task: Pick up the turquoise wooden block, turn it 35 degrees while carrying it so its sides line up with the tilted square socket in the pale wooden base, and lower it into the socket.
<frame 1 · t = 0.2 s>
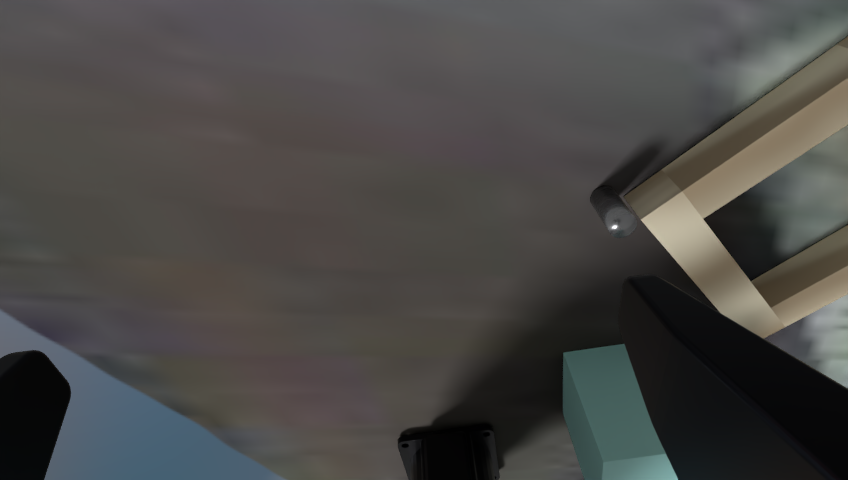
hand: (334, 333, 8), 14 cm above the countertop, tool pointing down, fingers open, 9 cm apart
turquoise block: (610, 376, 31), on the countertop
socket base: (793, 194, 24), on the countertop
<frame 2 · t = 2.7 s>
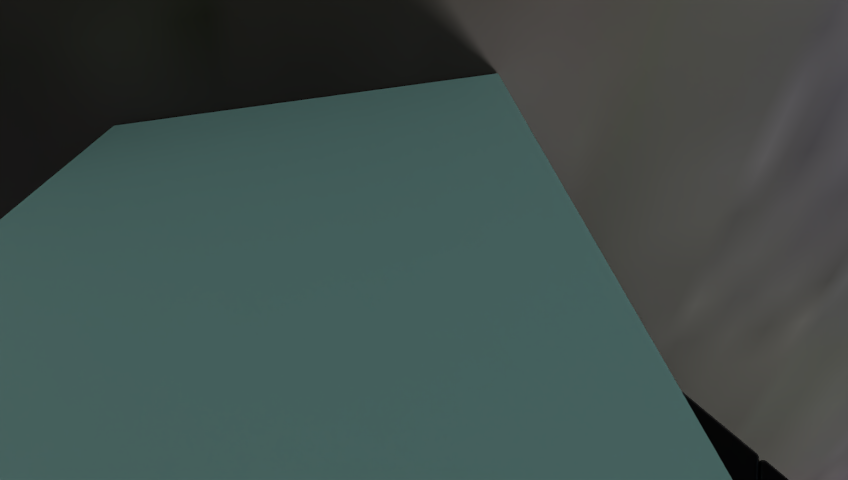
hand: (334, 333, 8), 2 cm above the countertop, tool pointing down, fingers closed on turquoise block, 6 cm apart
turquoise block: (344, 254, 9), on the countertop, touching gripper
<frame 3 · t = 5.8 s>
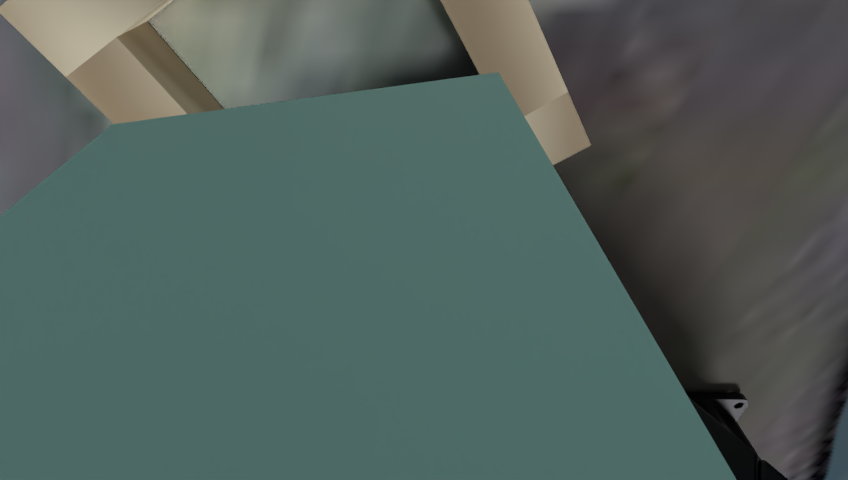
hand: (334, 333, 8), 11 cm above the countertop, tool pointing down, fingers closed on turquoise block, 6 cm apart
turquoise block: (344, 254, 9), point 9 cm above the countertop, touching gripper
socket base: (332, 64, 16), on the countertop
when the fingers open (3 cm above the countertop, at t = 9.0 s): turquoise block drops 1 cm, resting in socket base.
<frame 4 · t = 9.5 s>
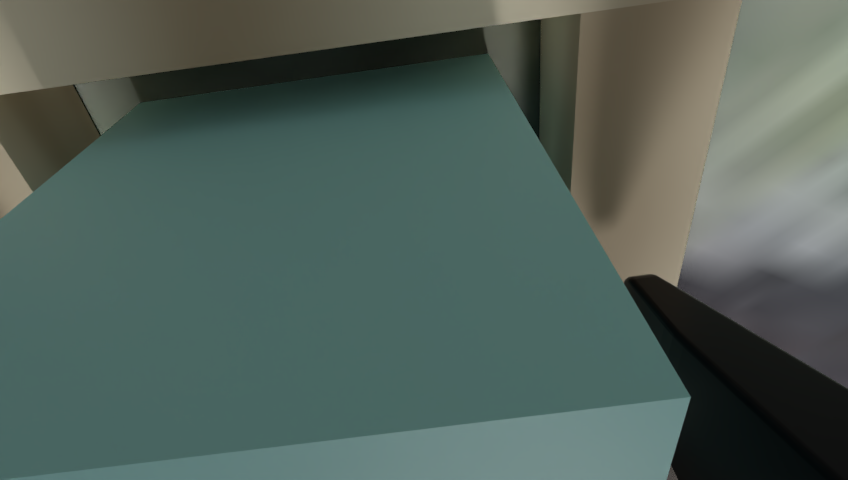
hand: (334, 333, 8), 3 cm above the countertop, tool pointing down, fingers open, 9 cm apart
turquoise block: (349, 223, 10), resting in socket base
socket base: (347, 225, 10), on the countertop
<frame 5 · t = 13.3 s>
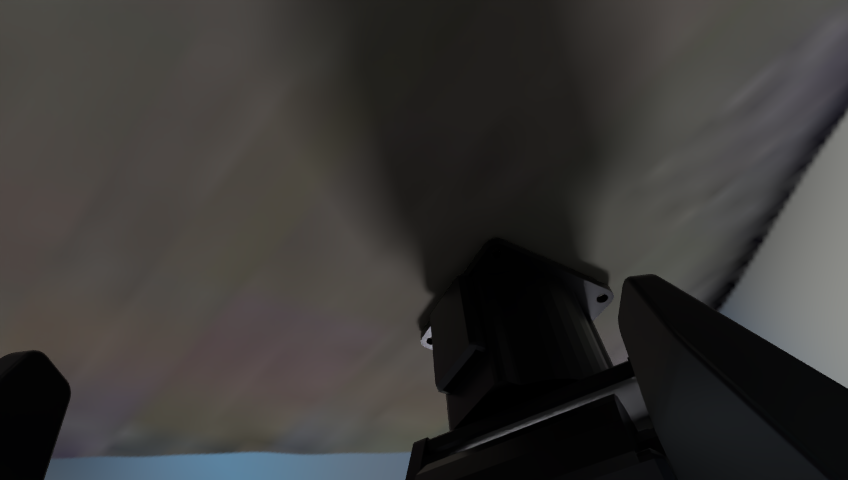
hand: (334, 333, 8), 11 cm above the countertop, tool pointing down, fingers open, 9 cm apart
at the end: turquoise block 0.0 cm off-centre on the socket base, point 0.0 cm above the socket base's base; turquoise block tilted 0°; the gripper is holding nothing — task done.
